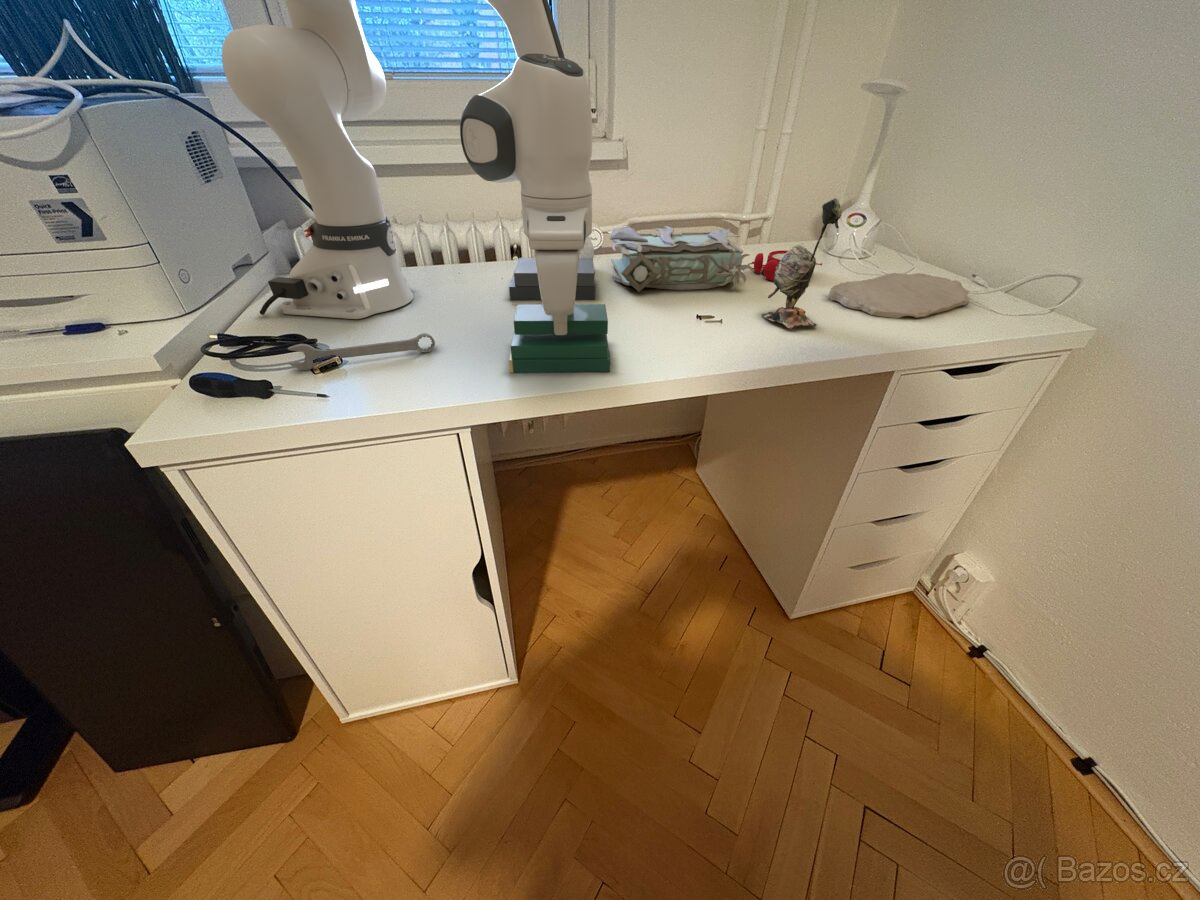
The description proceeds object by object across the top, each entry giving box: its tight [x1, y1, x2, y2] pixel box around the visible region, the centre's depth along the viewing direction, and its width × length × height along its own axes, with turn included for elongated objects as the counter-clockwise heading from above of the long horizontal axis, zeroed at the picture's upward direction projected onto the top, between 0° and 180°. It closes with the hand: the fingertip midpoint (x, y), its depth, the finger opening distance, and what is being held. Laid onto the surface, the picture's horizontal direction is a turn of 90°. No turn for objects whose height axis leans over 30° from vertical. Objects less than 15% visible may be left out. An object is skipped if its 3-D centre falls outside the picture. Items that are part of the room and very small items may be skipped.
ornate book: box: [606, 225, 754, 293], centre depth 103 cm, size 23×10×30 cm
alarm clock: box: [747, 249, 823, 282], centre depth 106 cm, size 10×6×15 cm
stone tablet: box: [828, 272, 970, 319], centre depth 95 cm, size 16×30×2 cm, turn 115°
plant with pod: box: [761, 197, 843, 329], centre depth 81 cm, size 8×11×20 cm
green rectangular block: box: [508, 330, 611, 374], centre depth 72 cm, size 14×9×4 cm, turn 93°
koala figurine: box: [579, 235, 595, 259], centre depth 106 cm, size 8×7×12 cm
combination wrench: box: [287, 332, 436, 371], centre depth 71 cm, size 4×1×20 cm
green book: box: [513, 303, 609, 335], centre depth 69 cm, size 13×6×2 cm, turn 93°
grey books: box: [508, 257, 596, 301], centre depth 96 cm, size 16×11×5 cm
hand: (561, 322), depth 70 cm, fingers closed on green book, 6 cm apart
